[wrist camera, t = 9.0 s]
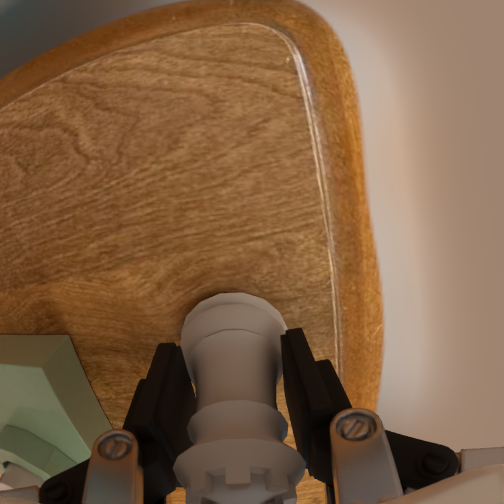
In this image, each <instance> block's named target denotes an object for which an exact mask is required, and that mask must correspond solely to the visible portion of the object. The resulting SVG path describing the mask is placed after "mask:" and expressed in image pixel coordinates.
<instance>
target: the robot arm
mask: <svg viewBox="0 0 504 504" xmlns="http://www.w3.org/2000/svg"><path fill="white" fill-rule="evenodd" d="M280 341H281V354H282V366H283V379H284V392H285V399H286V403H287V408H288V412H289V416H290V421H291V425H292V429H293V434H294V438H295V443H296V447H297V451H298V452H299V453H300V455H301V456H302V458H303V459H304V460H305V462H306V467H305V469H307V468H308V471H309V475H310V476H314V478H315V479H317V480H319V481H321V482H324V492H325V504H504V447H494V448H481V449H461V451H460V453H455V452H454V451H453V450H451V449H450V448H449V447H446V446H443V445H439V444H436V443H431V442H427V441H423V440H420V439H416V438H412V437H408V436H404V435H400V434H397V433H394V432H391V431H387V430H384V427H383V424H382V421H381V419H380V417H379V416H378V415H377V414H376V413H374V412H373V411H371V410H368V409H364V408H352V406H351V404H350V401H349V399H348V397H347V395H346V393H345V391H344V389H343V387H342V384H341V382H340V380H339V378H338V376H337V374H336V372H335V370H334V368H333V365H332V363H331V362H330V360H329V359H326V360H320V361H315V359H314V357H313V355H312V352H311V350H310V347H309V345H308V342H307V340H306V338H305V335H304V333H303V330H302V328H295V329H289V330H286V331H285V334H282V335H280ZM196 409H197V400H196V397H195V393H194V390H193V387H192V383H191V380H190V377H189V373H188V370H187V366H186V363H185V359H184V356H183V352H182V348H181V346H176V344H175V343H160V344H158V346H157V349H156V352H155V355H154V357H153V360H152V363H151V366H150V369H149V371H148V374H147V377H146V379H141V380H140V381H139V383H138V386H137V388H136V391H135V394H134V397H133V399H132V402H131V405H130V408H129V411H128V413H127V416H126V419H125V422H124V425H123V428H122V429H114V430H109V431H107V432H104V433H103V434H101V435H100V436H99V437H98V438H97V439H96V440H95V442H94V444H93V447H92V451H91V456H90V458H89V459H87V460H85V461H83V462H81V463H79V464H77V465H75V466H73V467H71V468H69V469H67V470H65V471H63V472H61V473H59V474H57V475H55V476H53V477H51V478H49V479H47V480H46V481H45V482H44V483H43V484H42V485H41V488H39V487H38V486H37V485H35V486H29V487H23V488H16V489H9V490H1V491H0V504H171V494H170V493H171V492H173V491H174V490H176V487H183V486H182V485H181V484H180V483H179V481H178V480H177V478H176V475H175V473H174V471H173V466H174V464H175V462H176V459H177V457H178V456H179V455H180V454H182V453H183V452H185V451H186V450H188V449H189V448H190V447H192V446H193V445H194V443H193V442H192V441H191V440H190V438H189V434H188V430H187V427H188V424H189V422H190V419H191V417H192V416H193V415H194V414H196Z"/></svg>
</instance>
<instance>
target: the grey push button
mask: <svg viewBox="0 0 504 504" xmlns="http://www.w3.org/2000/svg"><path fill="white" fill-rule="evenodd" d="M44 482H45V480H43V479H42V478H41V477H39V476H37V475H35V474H34V473H32V472H30V471H29V470H27V469H25V468H24V467H22V466H20V465H18V464H15V463H12V462H9V463H8V465H7V467H6V468H5V470H4V472H3V474H2V476H1V478H0V490H9V489H16V488H23V487H29V486H35V485H37V486H38V487H39V488H41V485H42V484H43V483H44Z"/></svg>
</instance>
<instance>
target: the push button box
mask: <svg viewBox="0 0 504 504" xmlns="http://www.w3.org/2000/svg"><path fill="white" fill-rule="evenodd" d="M109 430H113V428H112V426H111V424H110V422H109V421H108V419H107V417H106V415H105V413H104V411H103V409H102V408H101V406H100V404H99V402H98V400H97V398H96V396H95V394H94V392H93V390H92V387H91V385H90V383H89V381H88V379H87V377H86V375H85V372H84V370H83V368H82V366H81V363H80V361H79V359H78V356H77V354H76V351H75V349H74V346H73V344H72V341H71V339H70V336H69V335H5V334H0V473H1V474H3V472H4V470H5V468H6V467H7V465H8V463H9V462H12V463H15V464H18V465H20V466H22V467H24V468H25V469H27V470H29V471H30V472H32V473H34V474H35V475H37V476H39V477H41V478H42V479H43V480H45V481H46V480H47V479H49V478H51V477H53V476H55V475H57V474H59V473H61V472H63V471H65V470H67V469H69V468H71V467H73V466H75V465H77V464H79V463H81V462H83V461H85V460H87V459H89V458H90V456H91V451H92V447H93V444H94V442H95V440H96V439H97V438H98V437H99V436H100V435H101V434H103V433H104V432H107V431H109Z"/></svg>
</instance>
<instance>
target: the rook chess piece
mask: <svg viewBox="0 0 504 504" xmlns="http://www.w3.org/2000/svg"><path fill="white" fill-rule="evenodd" d="M286 330H288V328H287V326H286V324H285V322H284V320H283V318H282V316H281V314H280V312H279V311H278V310H277V309H275V308H274V307H273V306H272V305H271V304H269V303H268V302H267V301H266V300H265V299H262V298H259V297H256V296H253V295H250V294H246V293H243V292H240V293H220V294H218V295H215V296H213V297H211V298H208V299H206V300H204V301H201V302H200V303H199V304H198V305H197V306H196V307H195V308H194V309H193V310H192V311H191V312H190V313H189V314H188V315H187V316H186V319H185V322H184V325H183V328H182V331H181V342H180V345H179V346H181V348H182V352H183V356H184V359H185V363H186V366H187V370H188V373H189V377H190V380H191V381H192V382H193V384H194V385H195V387H196V400H197V409H196V414H194V415H193V416H192V417H191V419H190V422H189V424H188V427H187V430H188V434H189V438H190V440H191V441H192V442H193V443H194V444H195V445H193V446H192V447H190V448H189V449H188V450H186V451H185V452H183V453H182V454H180V455H179V456H178V457H177V459H176V462H175V464H174V466H173V471H174V473H175V475H176V478H177V480H178V481H179V483H180V484H181V485H182V486H183V487H184V489H185V490H186V501H185V502H186V504H296V501H297V494H296V489H295V487H296V486H297V485H298V483H299V482H300V480H301V479H302V477H303V476H304V473H305V467H306V462H305V460H304V459H303V458H302V456H301V455H300V453H299V452H298V451H297V450H295V449H293V448H292V447H290V446H288V445H287V444H285V443H283V441H284V439H285V438H286V436H287V431H288V423H287V421H286V420H285V418H284V417H283V415H282V414H281V412H279V411H278V409H277V404H276V385H277V383H278V382H279V380H280V378H281V376H282V375H283V366H282V354H281V341H280V335H282V334H285V331H286Z"/></svg>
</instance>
